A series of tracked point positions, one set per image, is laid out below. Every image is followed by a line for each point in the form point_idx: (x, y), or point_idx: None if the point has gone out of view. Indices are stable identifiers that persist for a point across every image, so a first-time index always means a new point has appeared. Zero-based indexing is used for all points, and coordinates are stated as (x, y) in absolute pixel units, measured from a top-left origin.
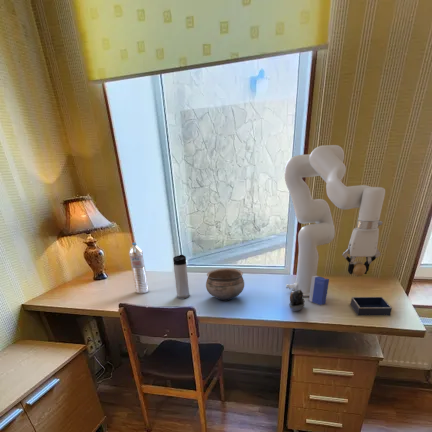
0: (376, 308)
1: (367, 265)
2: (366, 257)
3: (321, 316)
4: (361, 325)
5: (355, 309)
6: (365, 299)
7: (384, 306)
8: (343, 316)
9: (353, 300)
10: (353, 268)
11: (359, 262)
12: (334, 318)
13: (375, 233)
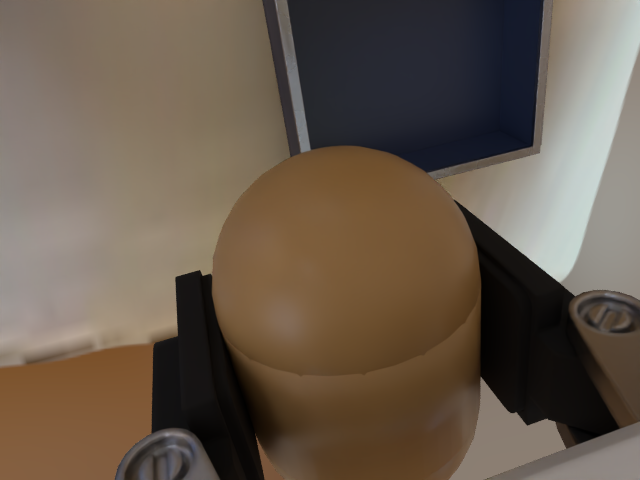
0: (434, 175)
1: (518, 407)
2: (621, 423)
3: (19, 247)
4: None
5: (286, 111)
6: None
7: (517, 21)
8: (193, 207)
9: (275, 5)
10: (259, 440)
11: (398, 435)
12: (129, 258)
13: None
